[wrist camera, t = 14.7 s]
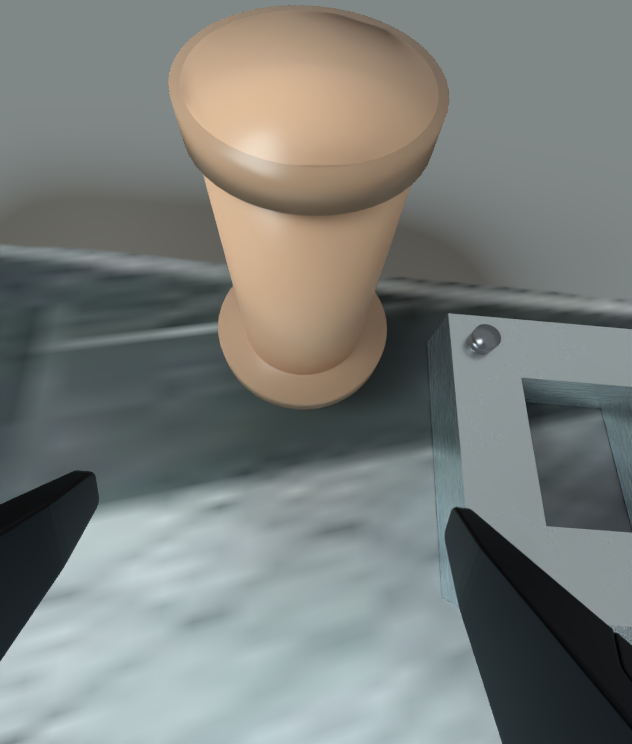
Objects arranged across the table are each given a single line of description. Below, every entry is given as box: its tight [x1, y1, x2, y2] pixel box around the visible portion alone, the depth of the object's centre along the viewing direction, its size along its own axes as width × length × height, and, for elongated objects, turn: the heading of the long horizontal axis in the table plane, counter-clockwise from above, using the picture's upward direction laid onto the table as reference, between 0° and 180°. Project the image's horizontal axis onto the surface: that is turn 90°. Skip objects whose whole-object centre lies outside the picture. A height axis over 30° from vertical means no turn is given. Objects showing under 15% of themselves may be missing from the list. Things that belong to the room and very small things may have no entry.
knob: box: [169, 5, 449, 409], centre depth 13 cm, size 7×7×13 cm
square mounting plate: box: [427, 313, 632, 627], centre depth 15 cm, size 12×12×4 cm
